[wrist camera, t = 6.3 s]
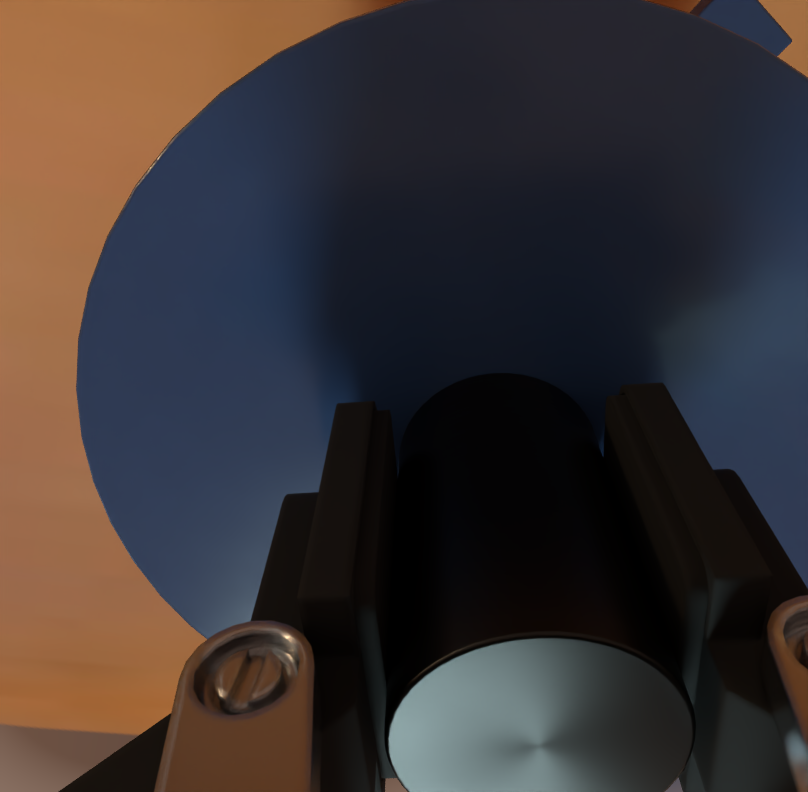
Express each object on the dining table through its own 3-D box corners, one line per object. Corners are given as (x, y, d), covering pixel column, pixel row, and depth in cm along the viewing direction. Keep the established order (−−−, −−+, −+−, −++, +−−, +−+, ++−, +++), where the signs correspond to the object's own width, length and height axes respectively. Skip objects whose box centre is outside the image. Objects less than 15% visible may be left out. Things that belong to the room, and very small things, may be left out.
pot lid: (-33, 454, 13) (-337, 778, 8) (464, -288, 8) (530, -720, 3) (505, 770, 17) (540, 1132, 12) (1066, 385, 12) (1561, 711, 7)
